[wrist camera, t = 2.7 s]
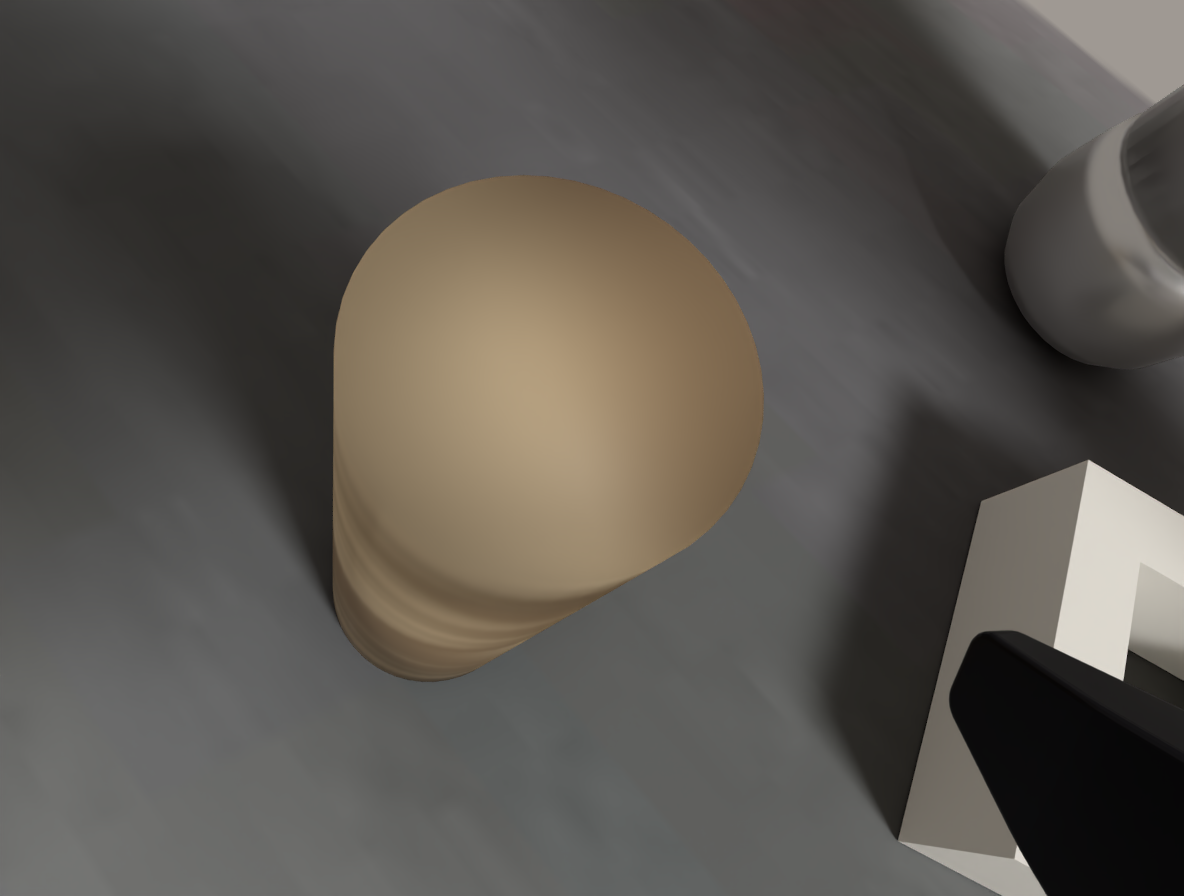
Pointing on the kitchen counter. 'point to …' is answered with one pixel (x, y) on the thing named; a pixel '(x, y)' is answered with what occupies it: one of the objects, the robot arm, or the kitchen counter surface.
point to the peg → (526, 417)
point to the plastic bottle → (1108, 245)
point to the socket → (1045, 636)
